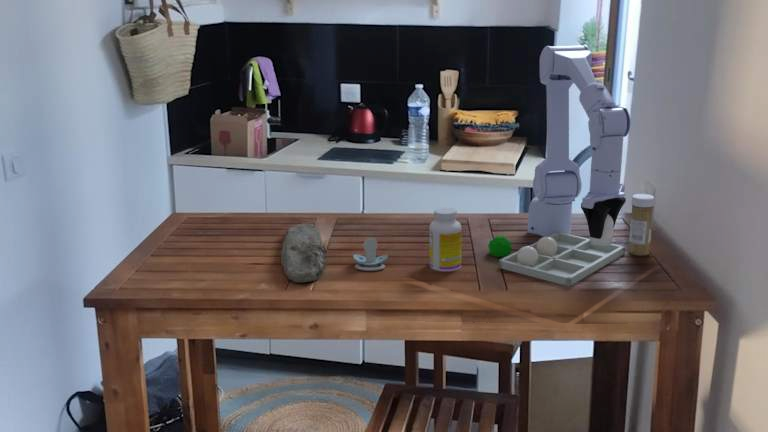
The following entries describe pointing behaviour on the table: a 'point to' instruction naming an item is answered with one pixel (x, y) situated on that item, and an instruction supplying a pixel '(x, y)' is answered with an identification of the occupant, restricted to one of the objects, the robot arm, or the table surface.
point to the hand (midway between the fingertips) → (601, 234)
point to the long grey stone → (303, 253)
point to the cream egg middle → (547, 246)
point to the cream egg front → (527, 256)
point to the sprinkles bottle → (641, 224)
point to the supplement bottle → (445, 240)
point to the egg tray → (566, 260)
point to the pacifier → (370, 257)
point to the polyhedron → (500, 247)
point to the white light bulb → (605, 233)
